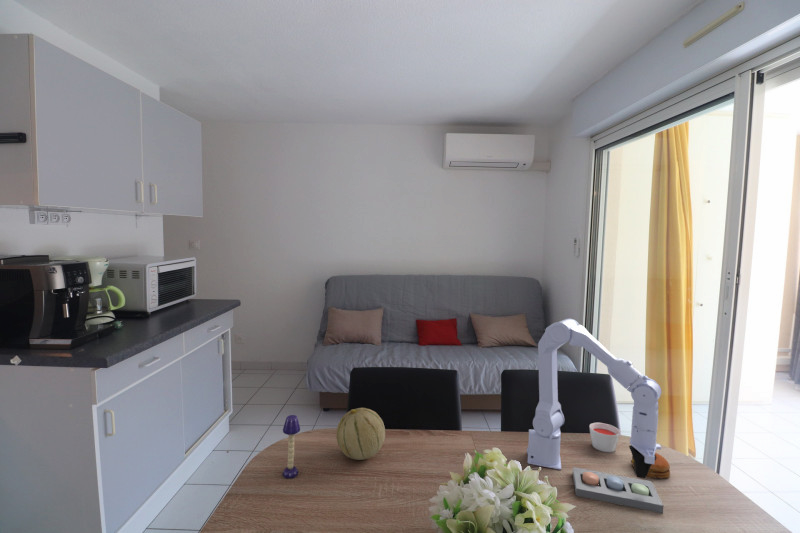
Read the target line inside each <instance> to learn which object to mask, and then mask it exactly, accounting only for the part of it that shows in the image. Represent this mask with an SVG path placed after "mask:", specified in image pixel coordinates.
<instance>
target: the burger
mask: <svg viewBox="0 0 800 533" xmlns="http://www.w3.org/2000/svg"><path fill="white" fill-rule="evenodd" d="M655 455H656V460H655V462H654V464H652V465H651V467H650V469H649V471H648V474H647V477H648V478H657V479H668V478H669V477H670V476H671V470H670V469H671V466H670V463H669V462H668V460H667V459H666V458H665V457H664V456H662V455H661V454H659V453H657V452H655ZM630 463H631V464H632V465H633V470H635V468H634V460H633V456H631V460H630ZM647 477H646V478H647Z"/></svg>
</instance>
